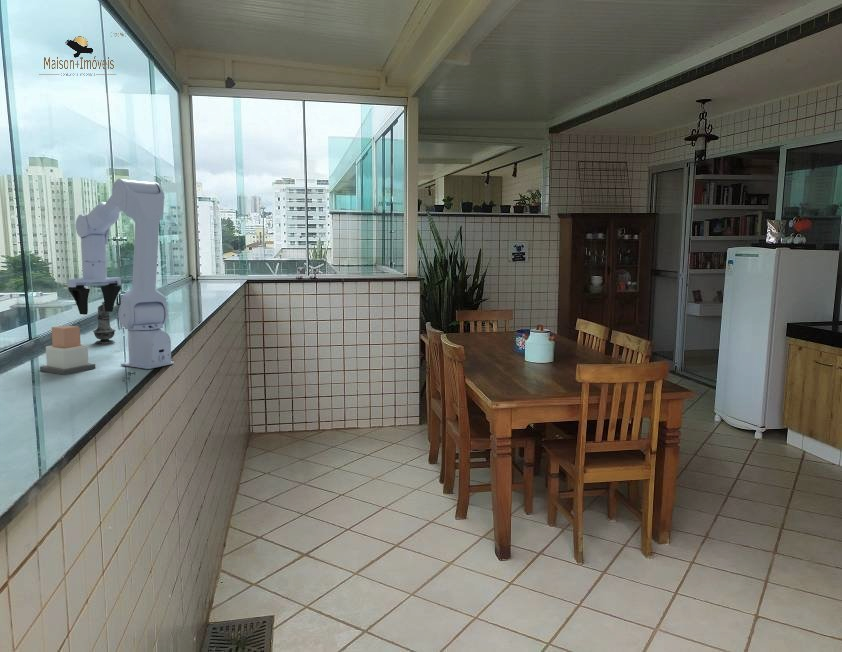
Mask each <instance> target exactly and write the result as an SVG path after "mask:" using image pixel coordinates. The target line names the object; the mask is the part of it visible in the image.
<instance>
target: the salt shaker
mask: <svg viewBox="0 0 842 652" xmlns="http://www.w3.org/2000/svg"><path fill="white" fill-rule="evenodd" d="M96 319H97V328H96V329H95V330H92V332H93V334H94V337H95V338H96V339H98V340H97V341H95V342H94V344H95V345H110V344H111V343H112V344H115V343H116V342H115V341H114V340H112V339H113V338H114V336H115V332H116V329H114V328H112V327H111V324H110V323H111V322H110V321H111V317H110V312H107V311H105V308H104V301H102V302H101V305H99V306H98V307H97V317H96Z"/></svg>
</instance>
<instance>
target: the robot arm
mask: <svg viewBox="0 0 842 652" xmlns="http://www.w3.org/2000/svg"><path fill="white" fill-rule="evenodd" d="M164 208H165V192H164V190H163V188H162V187H161V185H160V183H158V182H156V181H152V182H150V181H141V180H139V181H138V180H130V179H124V178H117V179H116V180H115V181H114V183H112V187H111V196H110V197H109V198H108V199H107V201H99V202H98V203H97V205H95V206H94V208H93V209H91V210H90V212H89V213H88V214H81V213H80V214H78V216H77V218H76V220H75V230H76V234H77V235H78V237H79V238H80V253H81V266H82V267H81V268H82V269H81V271H82V272H81V273H82V277H81V278H71V279H70V278H69V279H67V280H66V283H67V289H68V292H69V293H70V295H71V296H72V298H73V300H74V301H75V304H76V306H77V309H78V313H79V315H83V316H85V315H88V313H89V304H88V302H89V295H90V291H91V289H90V288H86V287H93V286H100V289H101V292H102V295H103V296H102V297H103V302H104V308H105V311H107V312H109V313H112V312H113V311H114V307H115V306H114V305H115V304H116V303H115V302H116V300H117V297H118V295H119V293H120V291H121V290H122V286H121V285H122V277H120V276H113V277H112V276H111V277H109V276H108V270H107V250H106V249H107V247H106V245H108V242H109V238H108V237H109V234H110V230H111V229H110V228H111V227H112V226H113V225H114V224H115V223H116V222H117V221H118V220H119V218H120V213H121V212H123V213H124V215H125V216H127V217H129V218H132V220H133V222H134V240H133V241H134V242H133V261H132V264H133V265H132V282H131V283H132V285H131V288H130V289H128V290H127V291H126V292H125V293H124V294H123V295H121V300H120V301H121V302H120V305H119V308H118V312H117V313H118V320H119V322H120V325H121V326H122V327H123V328H124V329H125V330H127V343H128V361H125V362H120V366H126V367H132V368H138V369H146V370H151V369H155V368H161V367H163V366H164V367H165V366H169V365H173V364H175V361H172V339H171V337H170V335H169V333H167V332H166V331H165V330H162V329H163V328H164V325H165V324H166V323H167V321H168V317H169V312H168V311H169V310H168V306H167V305H168V304H167V297H166V296H165V295H164V294H163V293H162V292H160V291H159V290H158V289H156V286H157V285H156V284H157V271H158V270H157V269H158V253H159V251H158V250H159V231H160V219H162V218H163V217H164Z"/></svg>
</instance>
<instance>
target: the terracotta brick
mask: <svg viewBox="0 0 842 652" xmlns="http://www.w3.org/2000/svg"><path fill="white" fill-rule="evenodd" d="M51 341H52V345H53V347H57V348H71V347H77V346H81V328H80V326H77V325H59V326H51Z"/></svg>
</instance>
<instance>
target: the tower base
mask: <svg viewBox="0 0 842 652" xmlns="http://www.w3.org/2000/svg"><path fill="white" fill-rule="evenodd" d="M88 348H89V346H88V344H81V346H77V347H71V348H57V347H53V344H52V345H47V346H45V356H46V359H45V360H46V365H45V364H44V365H40V366H39V372H46V373H51V374H57V375H62V376H63V375H64V376H65V375H70V374H74V373H79V372H84V371H90V370H95V369H96V367H97V366H96V364H95V363H90V362H89V349H88Z"/></svg>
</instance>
